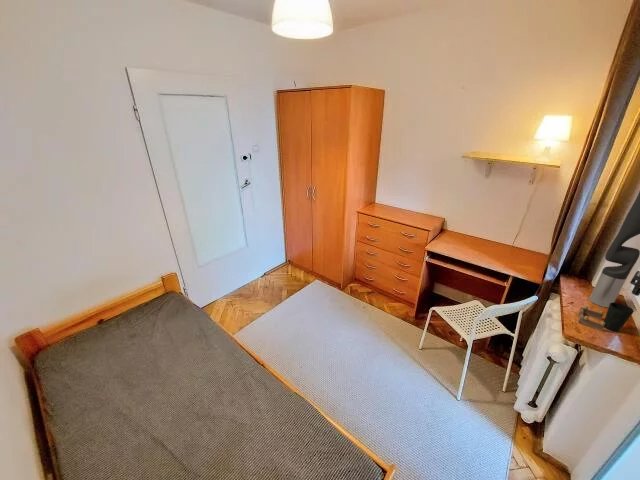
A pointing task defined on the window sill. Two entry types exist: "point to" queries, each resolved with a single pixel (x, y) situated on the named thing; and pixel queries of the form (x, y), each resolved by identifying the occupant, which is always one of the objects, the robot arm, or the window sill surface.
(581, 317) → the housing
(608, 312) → the cup
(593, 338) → the window sill surface
